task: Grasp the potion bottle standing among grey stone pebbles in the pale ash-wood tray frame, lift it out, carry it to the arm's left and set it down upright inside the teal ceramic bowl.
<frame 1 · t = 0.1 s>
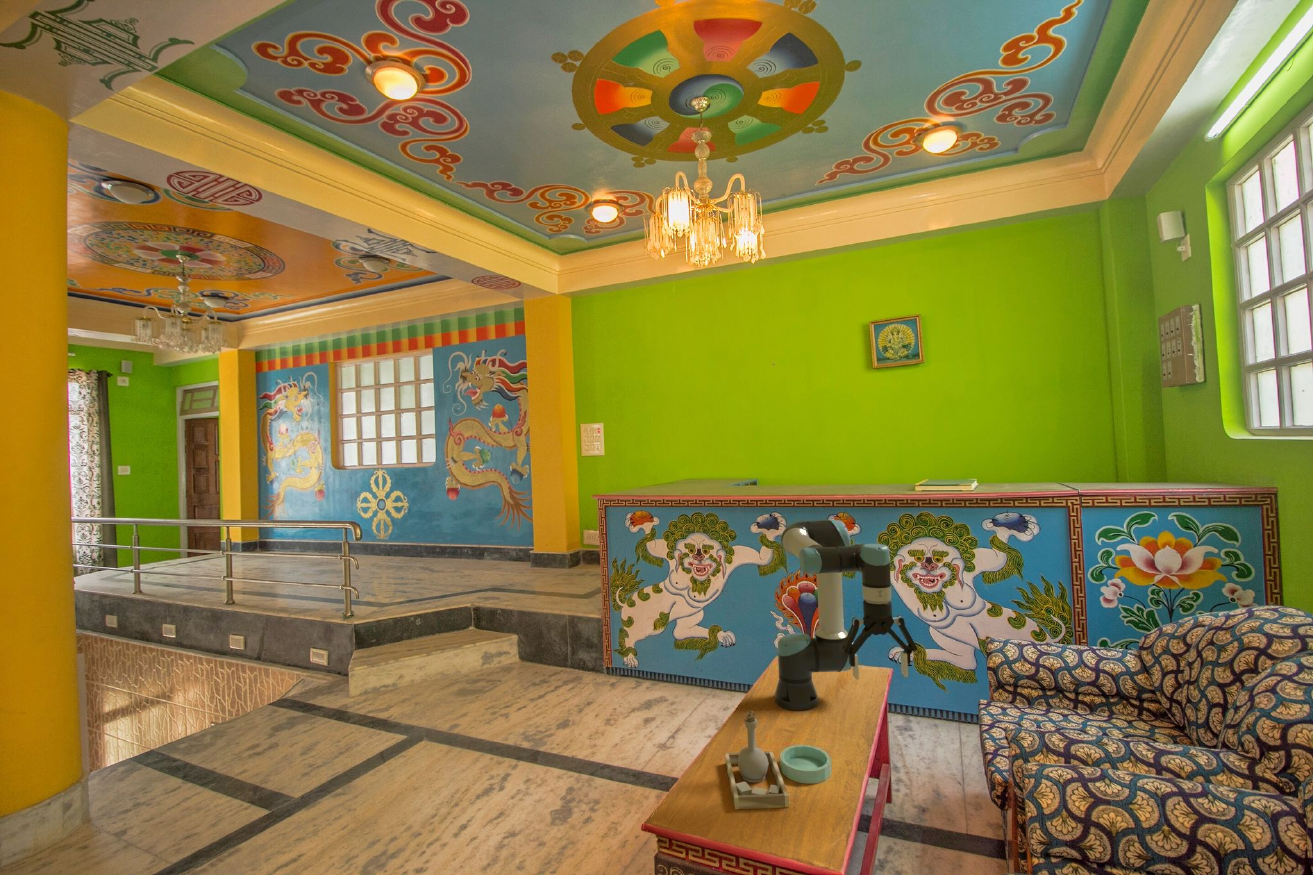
hand: (880, 676, 168), 28 cm above the table, fingers open, 13 cm apart
tray: (755, 783, 167), on the table
pebble b: (774, 796, 161), resting in tray
bowl: (805, 769, 173), on the table
pebble c: (759, 800, 160), resting in tray
grey boxy piece: (743, 795, 163), resting in tray
potion bottle: (753, 776, 171), resting in tray
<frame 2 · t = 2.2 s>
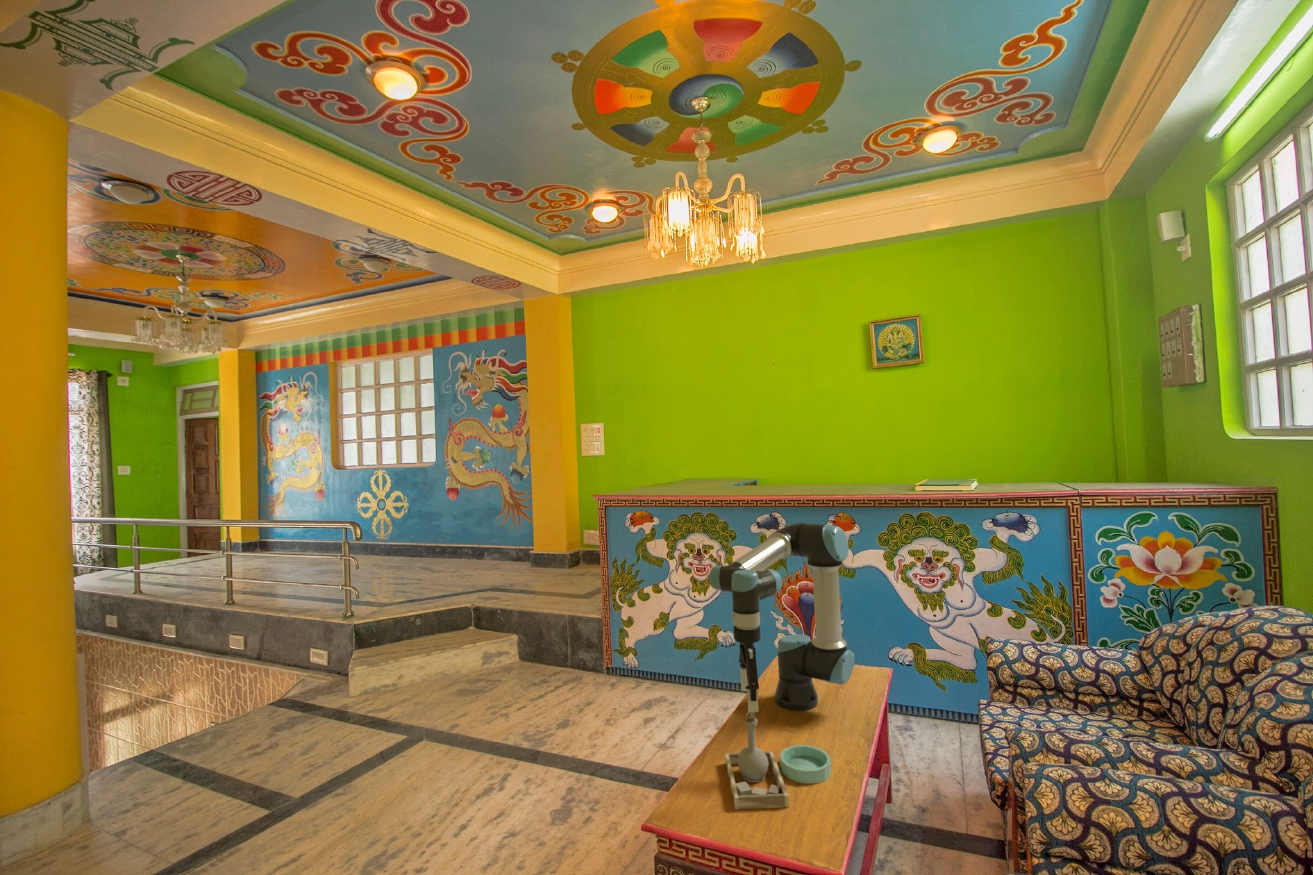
hand: (749, 700, 171), 21 cm above the table, fingers open, 13 cm apart
nothing on the table moved.
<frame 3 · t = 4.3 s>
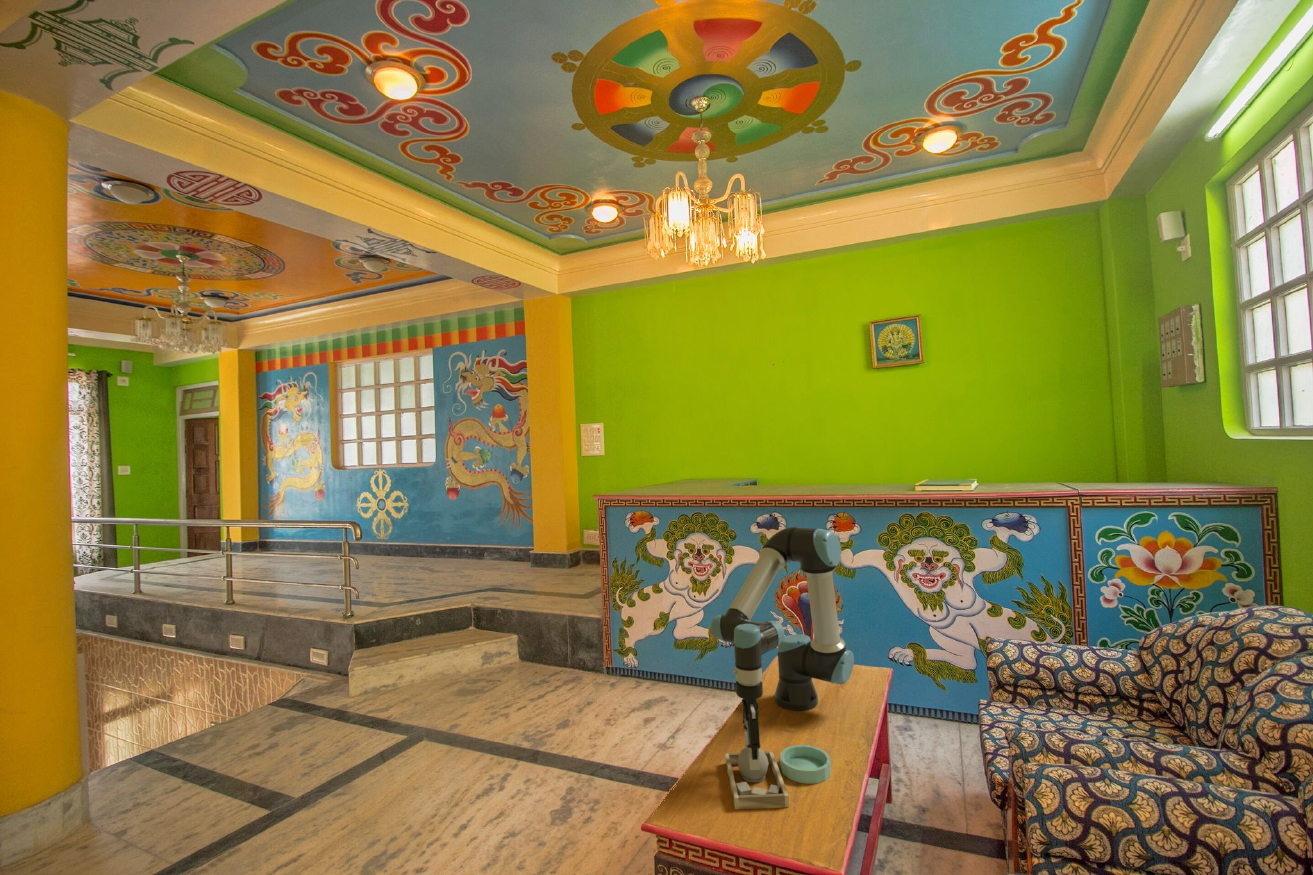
hand: (752, 760, 171), 4 cm above the table, fingers closed on potion bottle, 8 cm apart
potion bottle: (752, 776, 171), resting in tray, touching gripper
everything else where it was.
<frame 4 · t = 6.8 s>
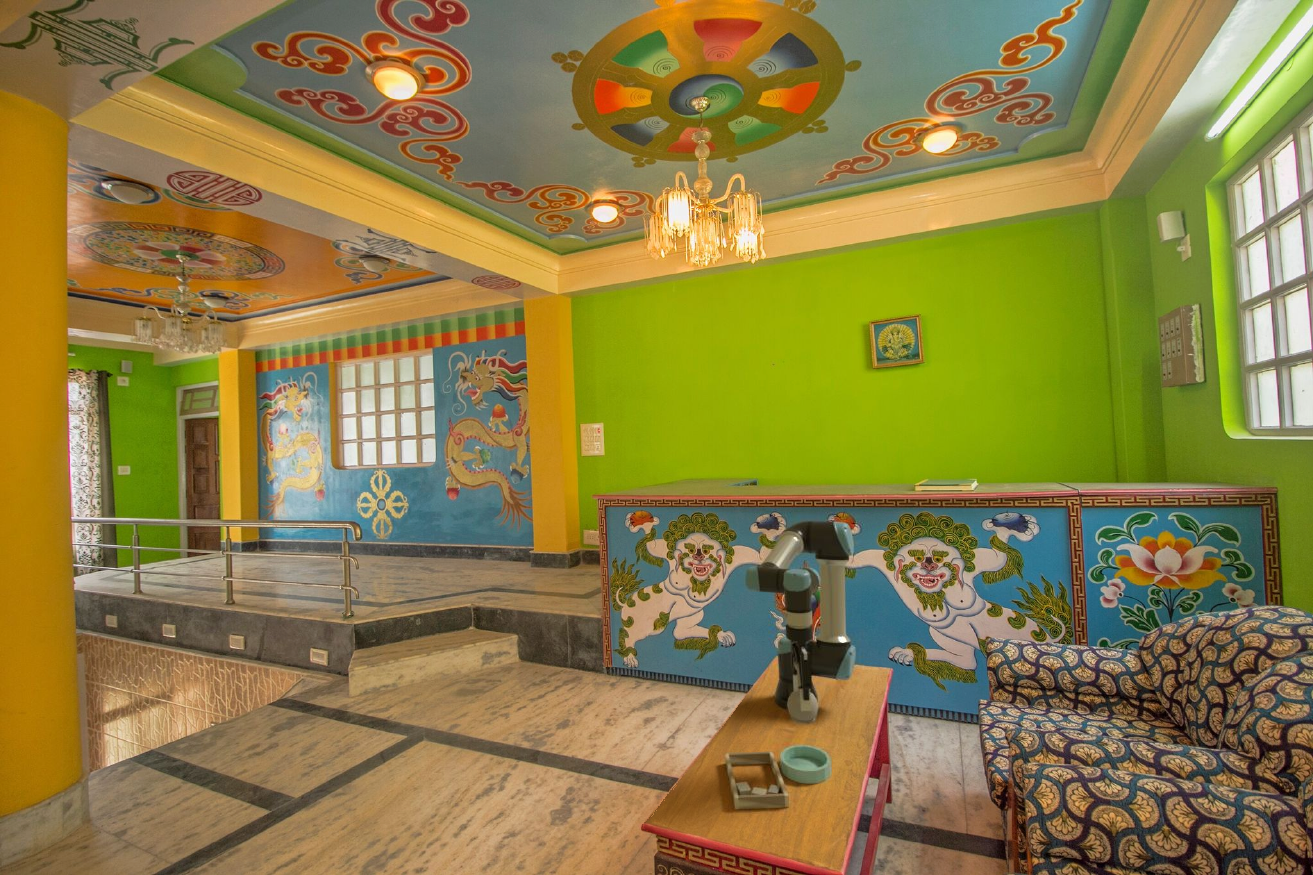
hand: (802, 703, 173), 19 cm above the table, fingers closed on potion bottle, 8 cm apart
potion bottle: (802, 718, 173), point 15 cm above the table, touching gripper
everything else where it was.
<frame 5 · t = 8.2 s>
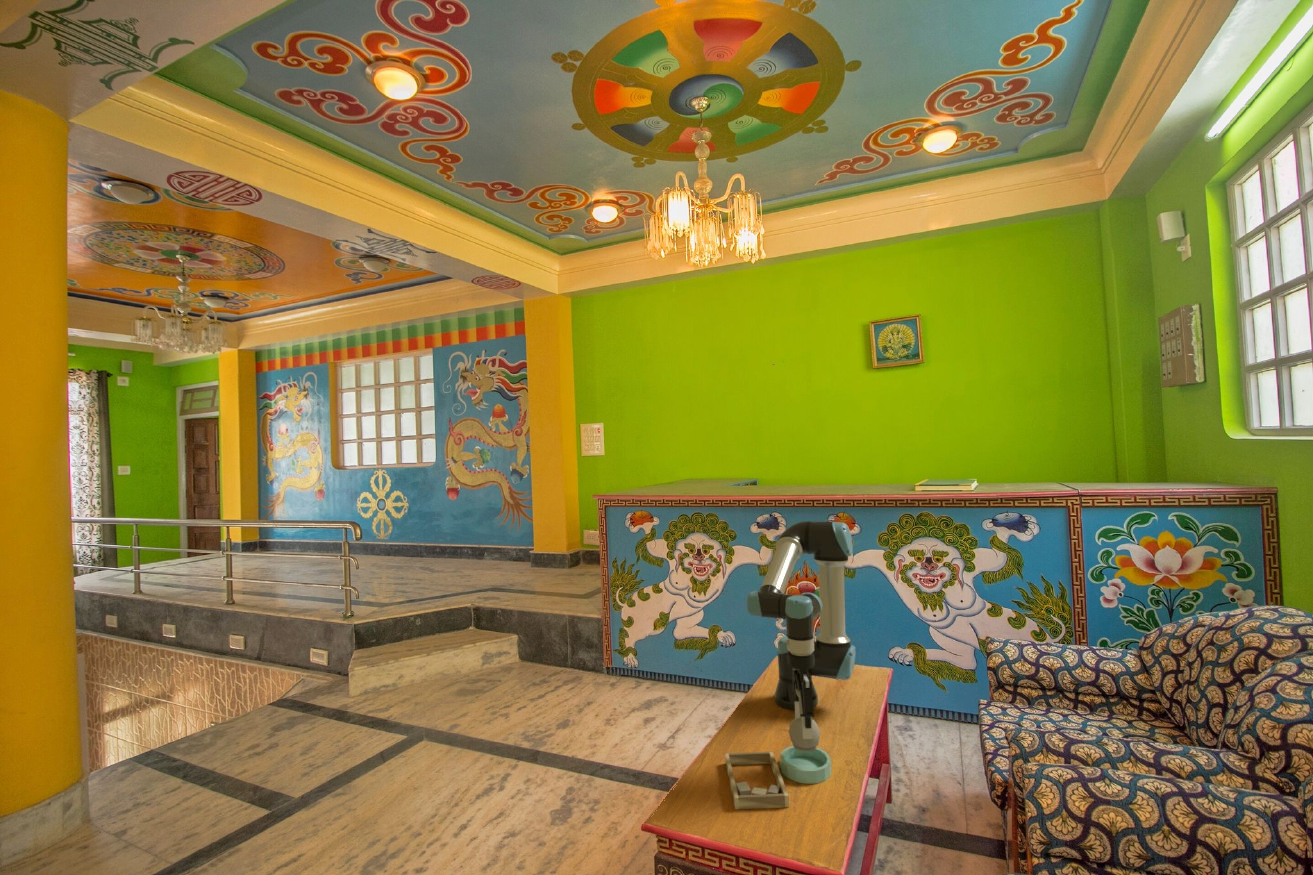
hand: (803, 730, 173), 11 cm above the table, fingers closed on potion bottle, 8 cm apart
potion bottle: (804, 746, 173), point 7 cm above the table, touching gripper
everything else where it was.
when the fingers open (7 cm above the table, at t = 9.5 s): potion bottle drops 1 cm, resting on bowl.
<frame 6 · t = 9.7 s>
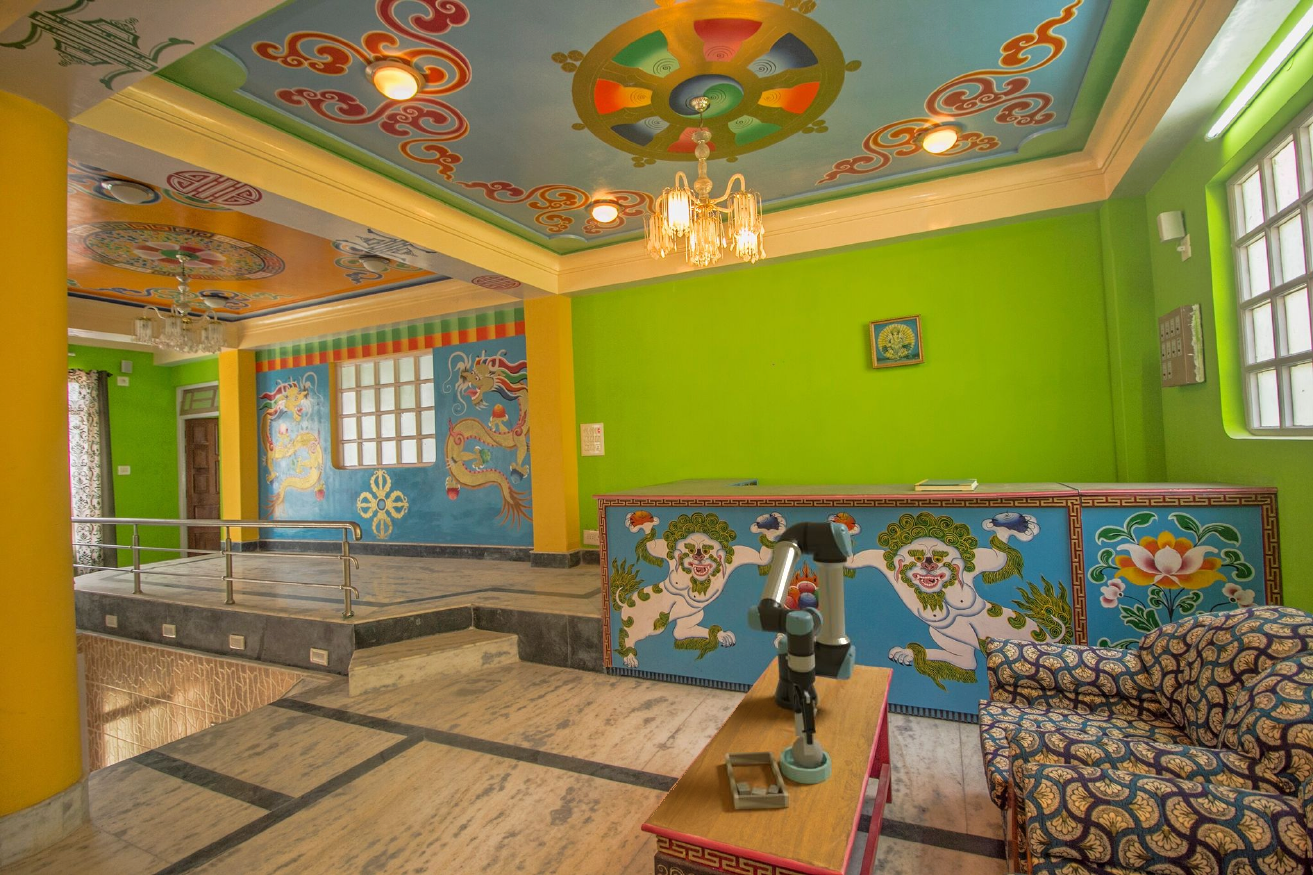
hand: (804, 744, 173), 7 cm above the table, fingers open, 10 cm apart
potion bottle: (805, 765, 174), point 1 cm above the table, touching bowl
everything else where it was.
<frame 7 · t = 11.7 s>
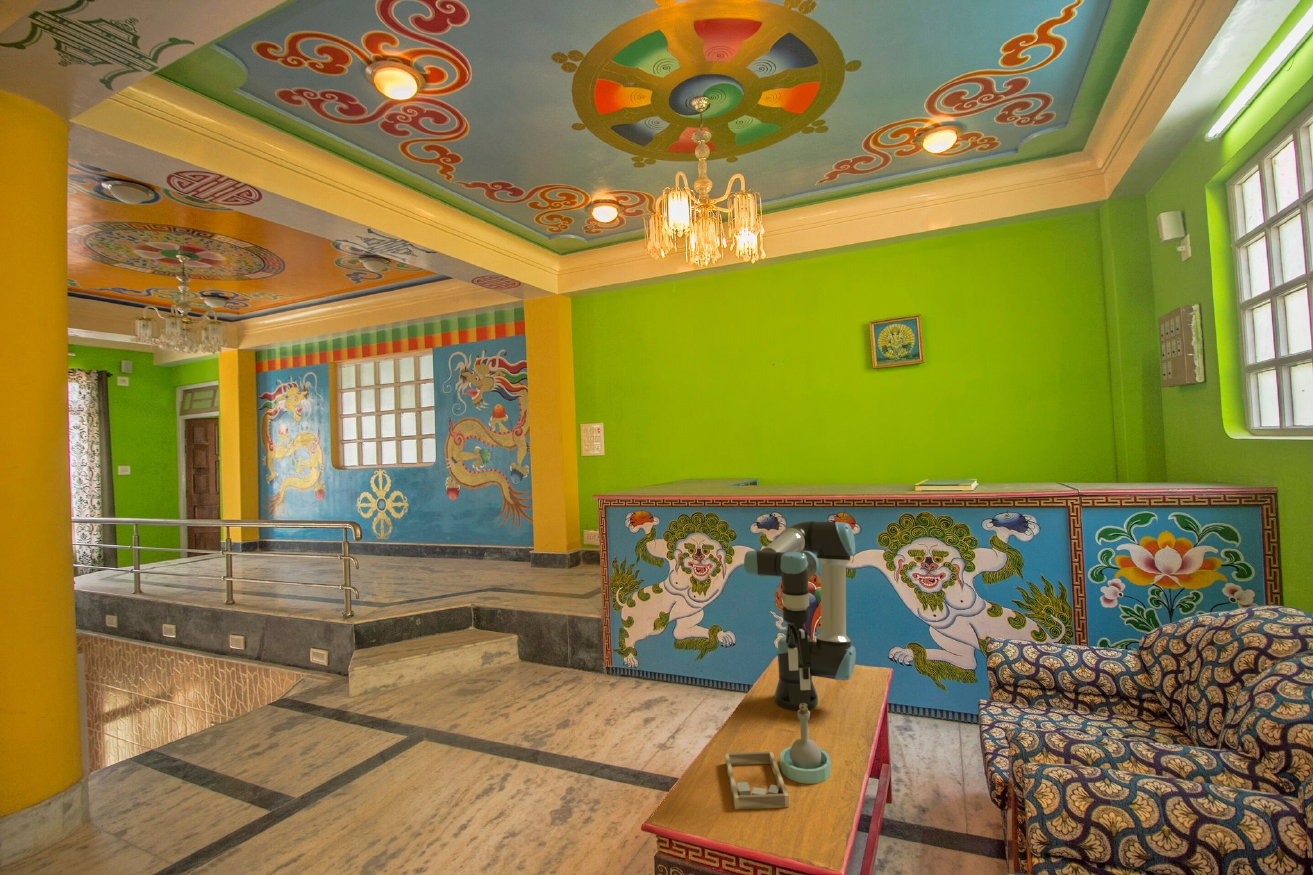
hand: (799, 679, 175), 25 cm above the table, fingers open, 13 cm apart
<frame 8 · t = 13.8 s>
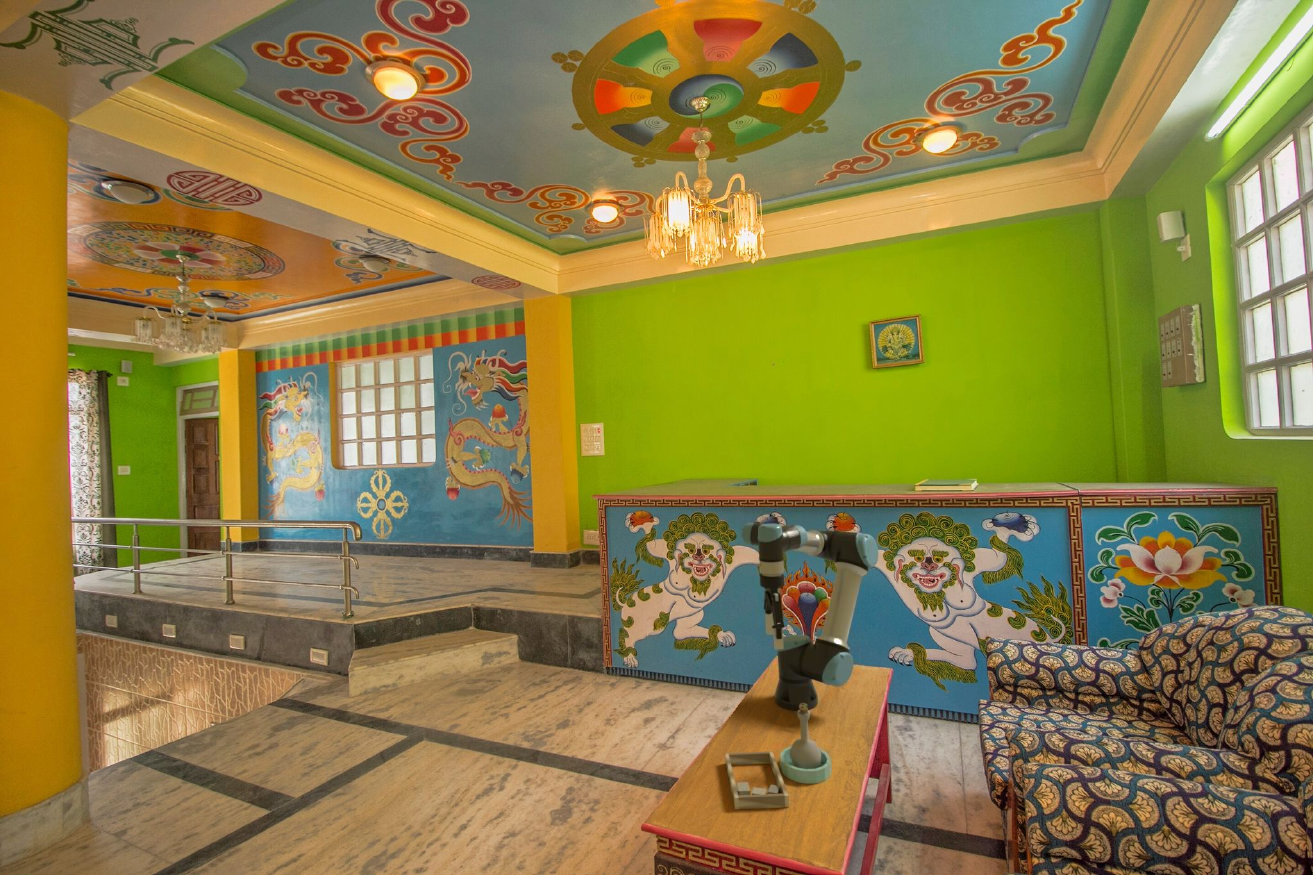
hand: (774, 641, 189), 32 cm above the table, fingers open, 13 cm apart
at the end: potion bottle 0.1 cm from the bowl (horizontally); potion bottle tilted 0°; potion bottle touching bowl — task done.
